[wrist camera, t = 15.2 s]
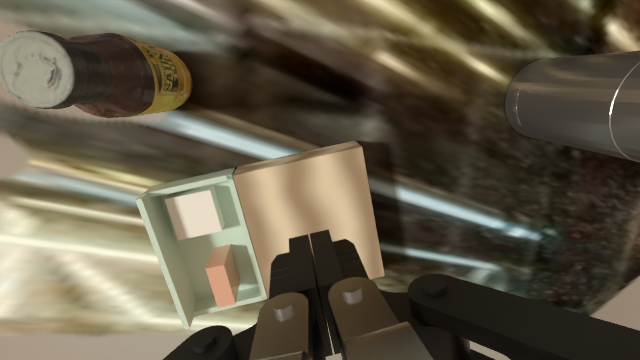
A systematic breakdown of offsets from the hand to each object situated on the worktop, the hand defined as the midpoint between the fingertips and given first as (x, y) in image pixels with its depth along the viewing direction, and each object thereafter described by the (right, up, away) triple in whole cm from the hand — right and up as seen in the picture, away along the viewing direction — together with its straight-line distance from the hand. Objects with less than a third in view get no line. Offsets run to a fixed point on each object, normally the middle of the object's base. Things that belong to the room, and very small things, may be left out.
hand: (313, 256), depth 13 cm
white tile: (-14, -1, +26) cm, 30 cm away
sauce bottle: (-16, +14, +25) cm, 33 cm away
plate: (-1, -2, +31) cm, 31 cm away
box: (-13, -4, +30) cm, 33 cm away
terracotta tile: (-10, -8, +28) cm, 31 cm away
